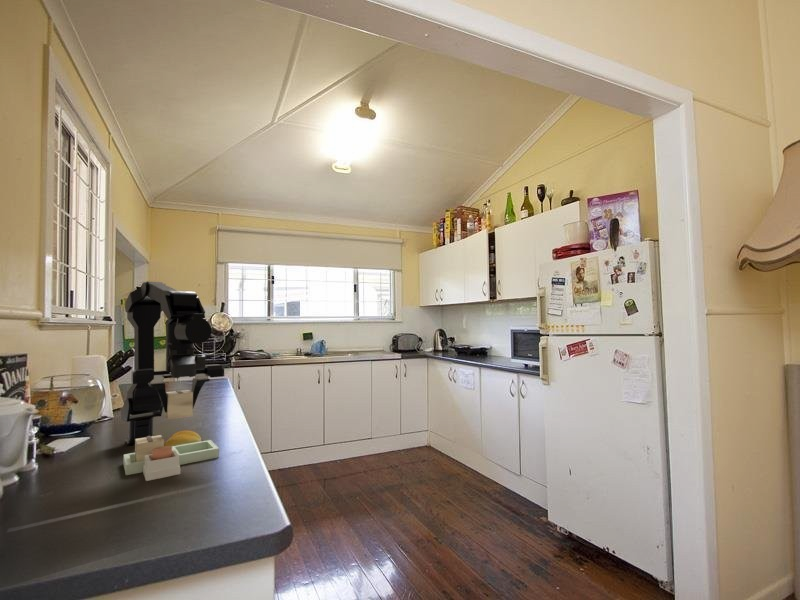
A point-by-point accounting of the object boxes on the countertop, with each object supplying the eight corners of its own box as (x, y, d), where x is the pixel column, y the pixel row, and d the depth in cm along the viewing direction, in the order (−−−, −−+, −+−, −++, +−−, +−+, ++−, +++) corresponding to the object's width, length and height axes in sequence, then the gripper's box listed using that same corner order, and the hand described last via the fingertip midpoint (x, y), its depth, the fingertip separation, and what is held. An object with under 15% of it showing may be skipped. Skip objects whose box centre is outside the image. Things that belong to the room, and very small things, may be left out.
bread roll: (159, 454, 99) (160, 438, 99) (170, 444, 108) (170, 429, 108) (196, 451, 101) (197, 435, 101) (204, 441, 110) (204, 426, 110)
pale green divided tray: (123, 466, 91) (123, 454, 91) (210, 450, 101) (210, 439, 102) (125, 477, 83) (126, 465, 84) (219, 459, 94) (219, 448, 94)
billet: (165, 415, 95) (165, 391, 96) (189, 412, 98) (189, 389, 99) (168, 419, 91) (168, 393, 92) (192, 416, 94) (192, 391, 95)
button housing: (143, 474, 85) (143, 455, 85) (175, 468, 88) (175, 449, 89) (146, 483, 80) (146, 462, 80) (180, 476, 84) (180, 456, 84)
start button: (150, 458, 85) (151, 448, 85) (170, 454, 87) (170, 445, 87) (152, 462, 82) (153, 452, 82) (173, 458, 84) (173, 448, 84)
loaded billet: (134, 464, 90) (135, 438, 91) (160, 459, 93) (161, 434, 94) (136, 470, 86) (137, 442, 87) (163, 465, 89) (164, 438, 90)
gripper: (134, 346, 84) (133, 422, 83) (229, 342, 95) (229, 410, 94) (132, 345, 93) (130, 414, 92) (219, 342, 104) (219, 403, 103)
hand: (179, 410), depth 95 cm, fingers closed on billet, 5 cm apart
